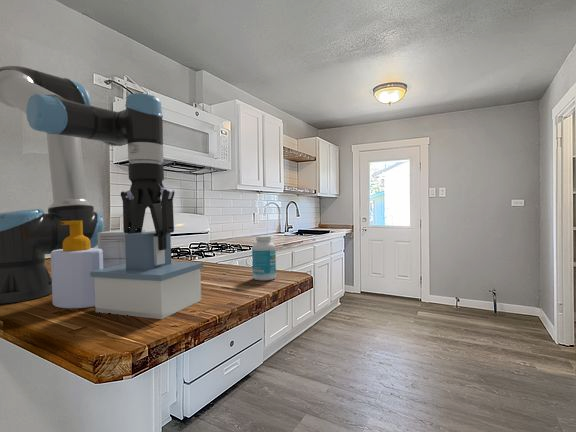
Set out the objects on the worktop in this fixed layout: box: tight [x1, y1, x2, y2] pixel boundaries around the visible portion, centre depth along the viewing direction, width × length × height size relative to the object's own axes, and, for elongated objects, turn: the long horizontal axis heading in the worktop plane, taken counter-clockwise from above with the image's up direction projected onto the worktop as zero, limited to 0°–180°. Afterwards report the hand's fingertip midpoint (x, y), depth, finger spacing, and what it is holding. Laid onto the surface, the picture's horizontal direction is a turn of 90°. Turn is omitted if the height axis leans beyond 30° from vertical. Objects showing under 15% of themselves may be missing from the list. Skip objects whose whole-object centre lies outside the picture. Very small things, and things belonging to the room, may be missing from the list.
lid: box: [90, 230, 204, 281], centre depth 75 cm, size 19×15×11 cm
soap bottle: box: [50, 221, 103, 309], centre depth 78 cm, size 13×8×20 cm, turn 75°
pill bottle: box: [251, 235, 277, 281], centre depth 102 cm, size 8×7×14 cm
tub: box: [94, 268, 202, 320], centre depth 75 cm, size 18×14×8 cm
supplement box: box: [97, 229, 146, 269], centre depth 93 cm, size 10×9×17 cm
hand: (149, 263), depth 75 cm, fingers closed on lid, 5 cm apart
